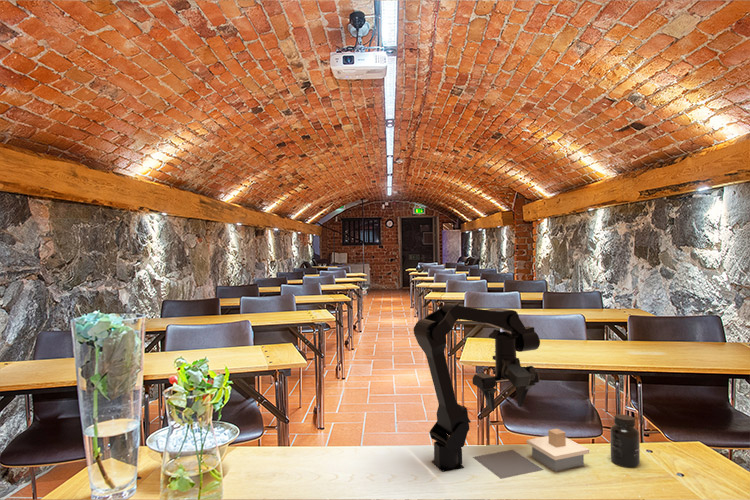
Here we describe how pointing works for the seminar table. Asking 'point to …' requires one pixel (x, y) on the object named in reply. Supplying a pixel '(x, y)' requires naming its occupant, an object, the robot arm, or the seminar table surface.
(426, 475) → the seminar table surface
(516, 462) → the mat
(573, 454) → the lid
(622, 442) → the supplement bottle
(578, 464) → the dish
